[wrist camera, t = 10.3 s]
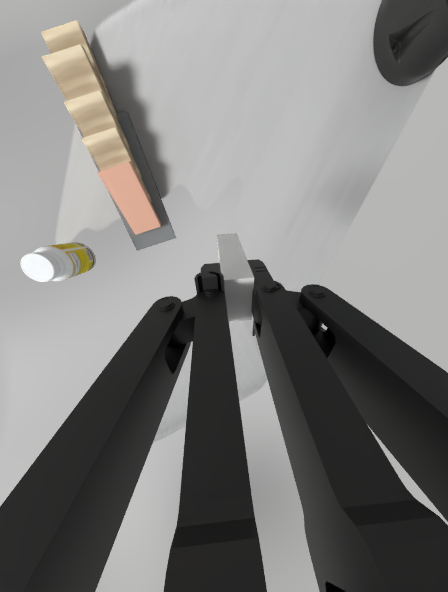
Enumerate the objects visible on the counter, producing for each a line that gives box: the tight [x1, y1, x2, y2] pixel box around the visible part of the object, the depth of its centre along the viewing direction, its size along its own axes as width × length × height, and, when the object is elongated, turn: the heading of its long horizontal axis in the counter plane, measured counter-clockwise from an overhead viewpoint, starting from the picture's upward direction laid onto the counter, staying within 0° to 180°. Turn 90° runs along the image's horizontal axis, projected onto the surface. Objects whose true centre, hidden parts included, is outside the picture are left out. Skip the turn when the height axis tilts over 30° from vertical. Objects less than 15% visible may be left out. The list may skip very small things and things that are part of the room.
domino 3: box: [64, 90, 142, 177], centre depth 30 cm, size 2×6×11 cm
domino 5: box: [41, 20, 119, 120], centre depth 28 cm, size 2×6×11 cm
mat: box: [78, 111, 176, 250], centre depth 35 cm, size 22×9×1 cm, turn 17°
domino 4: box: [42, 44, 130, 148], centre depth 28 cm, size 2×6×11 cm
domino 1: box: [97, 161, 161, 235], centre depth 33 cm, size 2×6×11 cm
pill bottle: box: [21, 243, 96, 282], centre depth 33 cm, size 6×6×11 cm
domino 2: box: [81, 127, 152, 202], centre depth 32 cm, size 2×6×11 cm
